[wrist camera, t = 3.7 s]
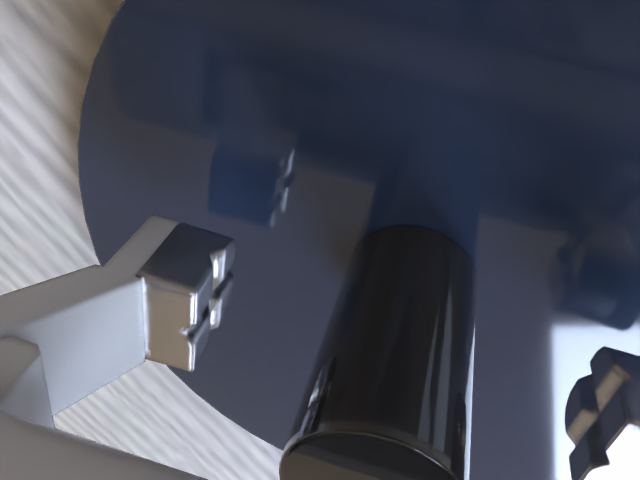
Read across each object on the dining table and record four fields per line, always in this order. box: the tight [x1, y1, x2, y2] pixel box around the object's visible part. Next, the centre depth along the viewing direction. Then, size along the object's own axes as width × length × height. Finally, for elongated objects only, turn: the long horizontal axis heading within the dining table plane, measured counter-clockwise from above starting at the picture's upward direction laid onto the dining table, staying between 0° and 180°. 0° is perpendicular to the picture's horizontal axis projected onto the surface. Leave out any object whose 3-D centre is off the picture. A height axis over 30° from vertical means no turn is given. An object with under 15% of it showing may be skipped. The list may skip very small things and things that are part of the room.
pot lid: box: [78, 0, 640, 480], centre depth 9 cm, size 14×14×6 cm
